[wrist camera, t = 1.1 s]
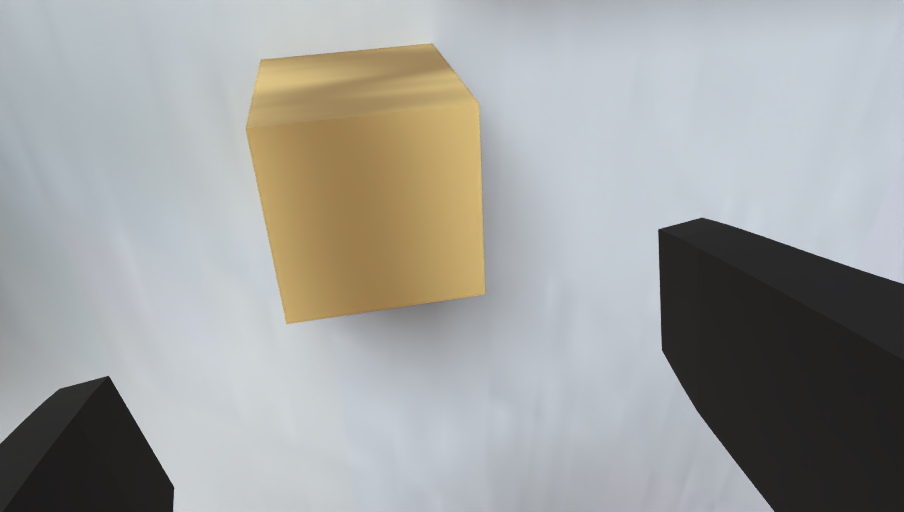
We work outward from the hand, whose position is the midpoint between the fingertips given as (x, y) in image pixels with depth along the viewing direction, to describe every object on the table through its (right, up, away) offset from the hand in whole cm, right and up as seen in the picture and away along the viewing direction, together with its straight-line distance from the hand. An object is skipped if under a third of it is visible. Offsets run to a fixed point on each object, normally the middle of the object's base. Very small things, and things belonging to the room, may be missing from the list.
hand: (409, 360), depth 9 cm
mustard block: (-2, +4, +8) cm, 9 cm away
